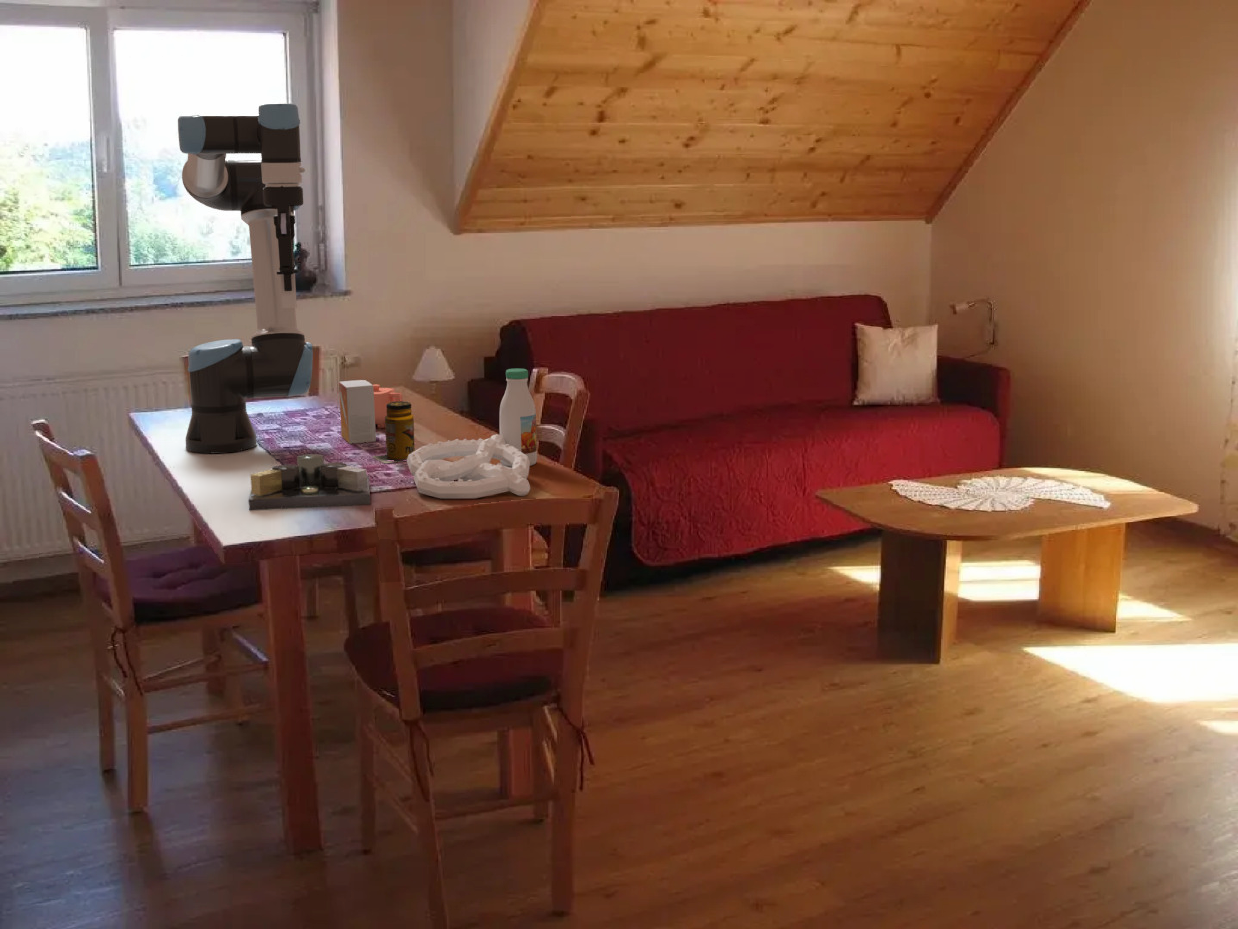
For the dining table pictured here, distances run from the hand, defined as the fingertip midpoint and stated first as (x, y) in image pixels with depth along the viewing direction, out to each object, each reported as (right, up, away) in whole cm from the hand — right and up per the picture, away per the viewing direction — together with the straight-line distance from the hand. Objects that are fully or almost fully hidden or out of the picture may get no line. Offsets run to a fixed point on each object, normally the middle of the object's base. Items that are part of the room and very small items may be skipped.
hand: (289, 307), depth 276 cm
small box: (+6, -26, +43) cm, 50 cm away
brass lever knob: (0, -36, -12) cm, 38 cm away
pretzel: (+36, -35, +2) cm, 50 cm away
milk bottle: (+44, -31, +19) cm, 57 cm away
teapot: (+7, -22, +60) cm, 64 cm away
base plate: (+6, -37, -8) cm, 39 cm away
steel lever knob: (+13, -35, -10) cm, 39 cm away
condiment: (+17, -30, +24) cm, 42 cm away
